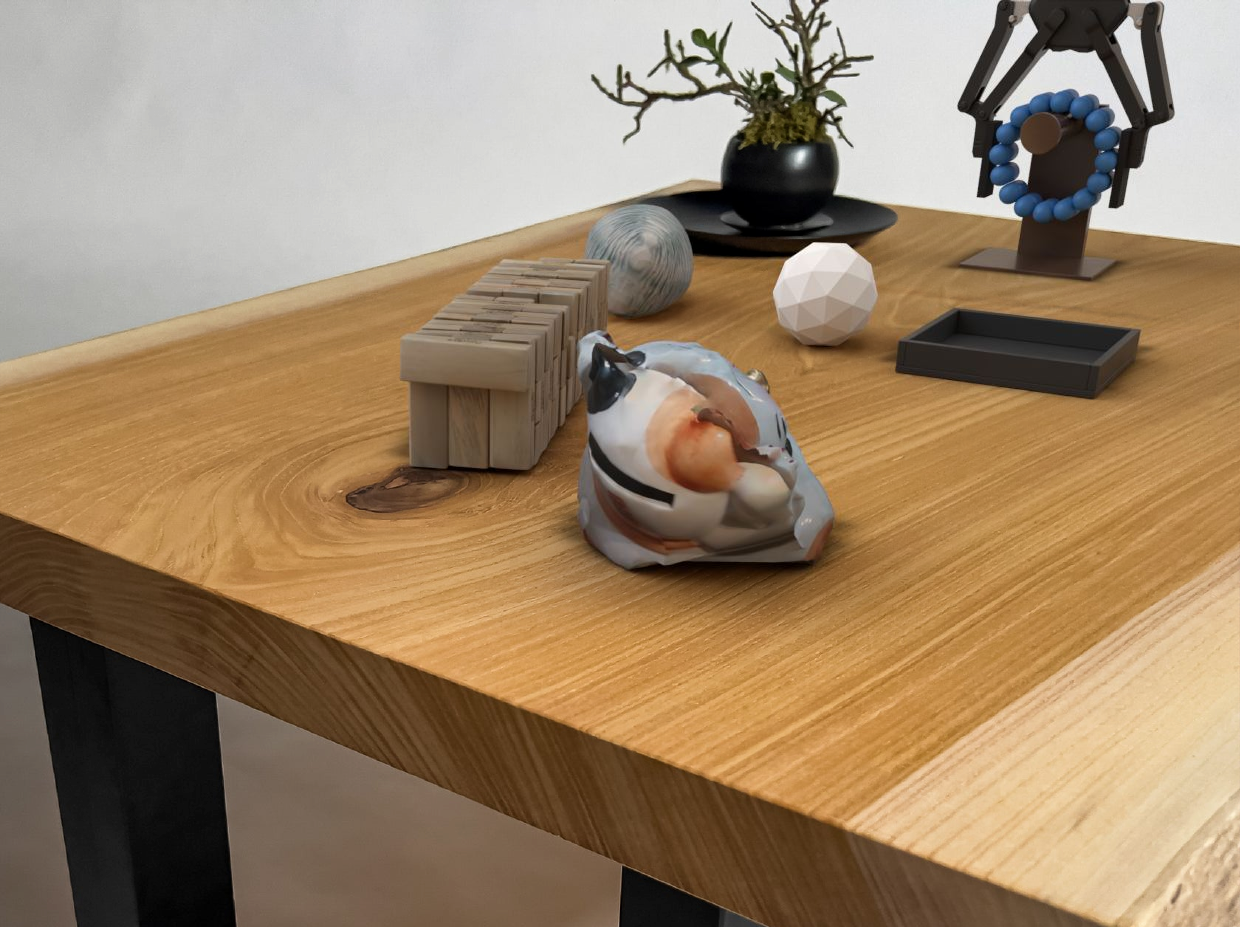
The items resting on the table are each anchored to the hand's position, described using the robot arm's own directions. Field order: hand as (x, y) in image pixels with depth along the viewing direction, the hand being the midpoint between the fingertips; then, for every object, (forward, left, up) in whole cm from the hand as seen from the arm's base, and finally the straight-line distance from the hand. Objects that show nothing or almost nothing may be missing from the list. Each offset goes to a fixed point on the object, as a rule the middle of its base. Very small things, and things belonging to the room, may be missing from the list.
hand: (1048, 201), depth 147 cm
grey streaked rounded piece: (+25, +33, -7) cm, 42 cm away
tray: (-8, +36, -6) cm, 38 cm away
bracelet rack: (0, 0, -7) cm, 7 cm away
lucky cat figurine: (-5, +85, -7) cm, 86 cm away
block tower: (+17, +67, -7) cm, 70 cm away
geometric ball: (+7, +37, -7) cm, 39 cm away
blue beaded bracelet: (0, 0, +4) cm, 4 cm away
